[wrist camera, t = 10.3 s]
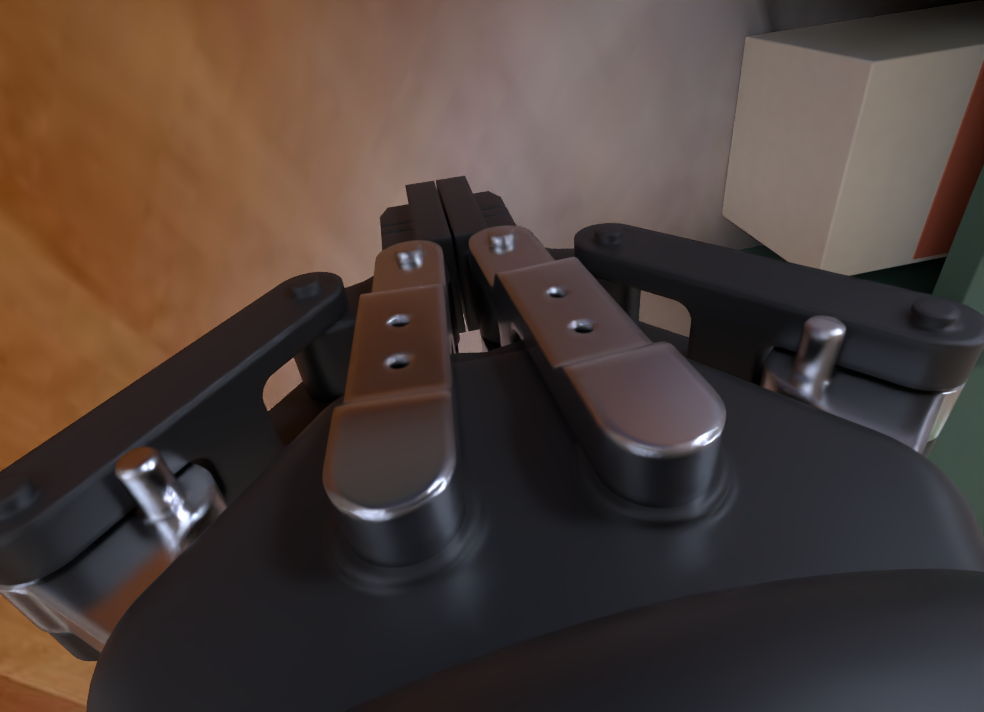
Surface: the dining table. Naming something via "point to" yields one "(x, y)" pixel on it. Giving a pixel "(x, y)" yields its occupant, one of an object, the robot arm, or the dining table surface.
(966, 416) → the cabinet
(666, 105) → the dining table surface
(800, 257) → the carton
